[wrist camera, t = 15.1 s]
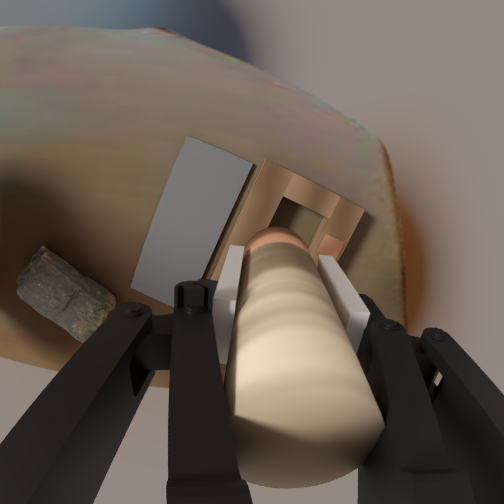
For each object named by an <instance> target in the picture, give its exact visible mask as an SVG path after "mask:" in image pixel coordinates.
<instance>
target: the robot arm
mask: <svg viewBox="0 0 504 504" xmlns="http://www.w3.org/2000/svg"><path fill="white" fill-rule="evenodd" d="M243 255H244V246H237V245H230V247H229V250H228V253H227V256H226V259H225V263H224V266H223V269H222V272H221V275H220V278H219V281H217V280H208V279H199V280H197V281H183V282H180V283H178V284H176V285H175V287H174V313H172V314H168V315H152V310H151V308H150V307H149V306H147V305H145V304H142V303H136V302H131V303H130V302H129V303H126V304H122V305H120V306H119V307H117V308H116V309H115V310H114V311H113V312H112V313H111V314H110V315H109V316H108V318H107V319H106V320H105V321H104V322H103V323H102V324H101V325H100V326H99V327H98V328H97V330H96V331H95V332H94V333H93V334H92V335H91V336H90V337H89V338H88V339H87V341H86V342H85V343H84V344H83V345H82V346H81V347H80V348H79V349H78V351H77V352H76V353H75V354H74V355H73V356H72V357H71V359H70V360H69V361H68V362H67V363H66V364H65V365H64V367H63V368H62V369H61V370H60V371H59V372H58V374H57V375H56V376H55V377H54V378H53V379H52V381H51V382H50V383H49V384H48V385H47V387H46V388H45V389H44V390H43V391H42V392H41V394H40V395H39V396H38V397H37V398H36V400H35V401H34V402H33V403H32V405H31V406H30V407H29V408H28V410H27V411H26V412H25V413H24V414H23V416H22V417H21V418H20V420H19V421H18V422H17V423H16V425H15V426H14V427H13V428H12V430H11V431H10V432H9V434H8V435H7V436H6V437H5V439H4V440H3V441H2V443H1V444H0V504H93V502H94V500H95V498H96V496H97V493H98V491H99V489H100V487H101V485H102V482H103V480H104V478H105V476H106V474H107V471H108V469H109V467H110V465H111V463H112V461H113V458H114V457H115V455H116V452H117V450H118V448H119V446H120V444H121V442H122V439H123V438H124V436H125V434H126V431H127V429H128V427H129V425H130V423H131V421H132V419H133V417H134V415H135V413H136V411H137V409H138V407H139V405H140V403H141V401H142V399H143V397H144V395H145V392H146V390H147V389H148V387H149V384H150V382H151V380H152V378H153V376H154V375H155V370H169V369H170V382H169V413H168V414H169V415H168V416H169V417H168V481H167V486H166V493H167V495H166V497H167V504H253V503H252V499H251V495H250V491H249V488H248V485H247V483H246V481H245V480H243V479H242V478H241V476H240V472H239V467H238V462H237V457H236V452H235V447H234V442H233V437H232V432H231V426H230V421H229V415H228V410H227V404H226V399H225V393H224V387H223V381H222V375H221V369H220V364H227V359H228V353H229V346H230V340H231V333H232V328H233V324H234V318H235V311H236V304H237V298H238V291H239V284H240V278H241V271H242V263H243ZM317 271H318V273H319V275H320V277H321V279H322V281H323V283H324V285H325V288H326V290H327V292H328V294H329V296H330V298H331V300H332V303H333V305H334V307H335V309H336V311H337V313H338V316H339V318H340V320H341V322H342V324H343V327H344V329H345V331H346V333H347V335H348V338H349V340H350V342H351V344H352V347H353V349H354V351H355V353H356V356H357V358H358V360H359V363H360V365H361V367H362V370H363V372H364V374H365V377H366V379H367V381H368V384H369V386H370V389H371V391H372V393H373V396H374V398H375V401H376V403H377V405H378V408H379V410H380V413H381V415H382V418H383V420H384V426H385V428H384V429H383V431H382V433H381V435H380V437H379V438H378V440H377V442H376V444H375V445H374V447H373V449H372V450H371V452H370V454H369V455H368V457H367V459H366V460H365V462H364V463H363V464H362V465H361V466H360V467H358V504H504V395H503V394H502V393H501V391H500V390H499V389H498V388H497V387H496V386H495V384H494V383H493V382H492V381H491V380H490V379H489V377H488V376H487V375H486V374H485V373H484V372H483V371H482V370H481V369H480V367H479V366H478V365H477V364H476V363H475V362H474V361H473V360H472V359H471V357H470V356H469V355H468V354H467V353H466V352H465V351H464V350H463V349H462V348H461V347H460V346H459V345H458V343H457V342H456V341H455V340H454V339H453V338H452V337H451V336H450V335H449V334H448V333H446V332H444V331H443V330H442V329H438V328H426V329H425V330H424V331H423V333H422V336H421V338H419V337H415V336H410V335H407V333H406V331H405V328H404V327H403V326H402V325H401V324H400V323H398V322H396V321H394V320H391V319H387V318H385V317H384V315H383V314H382V312H381V311H380V310H379V308H378V307H377V306H376V304H375V303H374V301H373V300H372V299H371V298H369V297H368V296H367V295H365V294H358V293H357V292H356V290H355V289H354V287H353V286H352V284H351V283H350V281H349V280H348V278H347V277H346V275H345V274H344V272H343V271H342V269H341V268H340V266H339V265H338V264H337V262H336V261H335V259H334V258H333V256H326V255H319V258H318V264H317ZM438 372H440V373H441V374H442V376H443V377H442V379H441V381H440V383H439V385H438V386H436V384H435V383H434V381H435V379H436V377H437V375H438Z"/></svg>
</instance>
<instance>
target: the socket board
mask: <svg viewBox="0 0 504 504" xmlns="http://www.w3.org/2000/svg"><path fill="white" fill-rule="evenodd" d="M283 196H284V197H286V198H288V199H290V200H292V201H294V202H296V203H298V204H301V205H303V206H305V207H307V208H309V209H311V210H313V211H315V212H317V213H319V214H321V215H323V218H322V220H321V222H320V224H319V226H318V228H317V230H316V232H315V234H314V236H313V238H312V240H311V242H310V244H309V246H308V250H309V252H310V254H311V256H312V258H313V260H314V262H315V265H316V268H317V264H318V258H319V255H326V256H333V258H334V259H335V261H336V262H338V260H339V258H340V256H341V255H342V253H343V251H344V249H345V247H346V245H347V243H348V242H349V240H350V238H351V236H352V234H353V232H354V230H355V228H356V226H357V224H358V222H359V221H360V219H361V217H362V215H363V213H364V211H365V209H363V208H361V207H359V206H357V205H355V204H354V203H352V202H350V201H348V200H346V199H344V198H342V197H341V196H339V195H337V194H335V193H333V192H331V191H329V190H327V189H325V188H323V187H321V186H319V185H317V184H315V183H314V182H312V181H310V180H308V179H306V178H304V177H302V176H299V175H297V174H295V173H293V172H291V171H289V170H287V169H285V168H283V167H281V166H279V165H277V164H275V163H272V162H270V161H268V160H266V159H265V161H264V163H263V165H262V167H261V169H260V171H259V174H258V176H257V178H256V180H255V182H254V184H253V186H252V188H251V191H250V193H249V195H248V197H247V199H246V201H245V203H244V206H243V208H242V210H241V212H240V214H239V216H238V219H237V221H236V223H235V225H234V227H233V229H232V232H231V234H230V236H229V238H228V240H227V243H226V245H225V247H224V249H223V251H222V254H221V256H220V258H219V260H218V263H217V265H216V267H215V269H214V272H213V274H212V276H211V278H210V280H217V281H219V278H220V275H221V272H222V269H223V266H224V263H225V259H226V256H227V253H228V250H229V247H230V245H237V246H244V248H245V246H246V244H247V242H248V241H249V239H250V238H251V237H252V236H253V235H254V234H256V233H257V232H259V231H261V230H263V229H266V228H268V226H269V224H270V222H271V220H272V218H273V215H274V213H275V211H276V209H277V207H278V205H279V203H280V201H281V199H282V197H283Z"/></svg>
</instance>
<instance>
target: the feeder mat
mask: <svg viewBox="0 0 504 504" xmlns="http://www.w3.org/2000/svg"><path fill="white" fill-rule="evenodd" d="M252 165H253V163H251V162H248V161H246V160H244V159H242V158H239V157H237V156H235V155H233V154H230V153H228V152H226V151H223V150H221V149H219V148H216V147H214V146H212V145H209V144H207V143H205V142H202V141H200V140H197V139H195V138H192V137H190V136H187V137H186V139H185V141H184V143H183V146H182V148H181V150H180V153H179V155H178V157H177V160H176V162H175V164H174V167H173V169H172V172H171V174H170V177H169V179H168V181H167V184H166V186H165V189H164V192H163V194H162V197H161V199H160V202H159V204H158V207H157V210H156V212H155V215H154V218H153V221H152V223H151V226H150V229H149V232H148V235H147V237H146V240H145V243H144V246H143V249H142V252H141V255H140V258H139V261H138V264H137V267H136V270H135V273H134V277H133V280H132V283H131V286H130V288H132V289H134V290H137V291H139V292H141V293H143V294H145V295H147V296H149V297H152V298H154V299H156V300H158V301H160V302H162V303H165V304H167V305H169V306H171V307H174V287H175V285H176V284H178V283H180V282H183V281H197V280H199V279H201V278H202V276H203V274H204V271H205V269H206V267H207V264H208V262H209V260H210V258H211V255H212V253H213V251H214V248H215V246H216V244H217V242H218V239H219V237H220V235H221V233H222V230H223V228H224V226H225V224H226V222H227V219H228V217H229V215H230V213H231V210H232V208H233V206H234V204H235V202H236V200H237V197H238V195H239V193H240V191H241V189H242V187H243V184H244V182H245V180H246V178H247V176H248V174H249V171H250V169H251V167H252Z"/></svg>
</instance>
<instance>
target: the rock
mask: <svg viewBox="0 0 504 504" xmlns="http://www.w3.org/2000/svg"><path fill="white" fill-rule="evenodd" d="M16 284H17V286H18V287H17V291H16V292H17V294H18V296H19V297H20V298H21V299H22V300H23V301H25V302H26V303H27V304H29V305H30V306H32V307H33V308H34V310H35V311H37V312H38V313H40V314H41V315H42V316H44V317H46V318H48V319H49V320H51V321H53V322H55V323H56V324H58V325H60V326H61V327H63V328H64V329H65V330H66V331H67V332H69V334H70V335H71V336H73V337H74V338H75V339H76V340H78V341H80V342H82V343H83V342H86V341H87V339H88V338H89V337H90V336H91V335H92V334H93V333H94V332H95V331H96V330H97V328H98V327H99V326H100V325H101V324H102V323H103V322H104V321H105V319H107V316H108V314H109V312H111V311H113V310H114V309H115V304H116V297H115V296H114V295H113V294H111V293H110V292H109V291H108V290H107V289H106V288H105V287H104V286H102V285H100V284H99V283H97V282H96V281H94V280H93V279H91V278H89V277H87V276H86V277H85V276H83V275H82V274H80V273H79V272H78V271H77V270H76V269H75V268H74V267H72V266H71V265H70V264H69V263H68V262H66V261H65V260H64V259H62V258H61V257H59V256H58V255H56V254H54V253H53V252H51V251H50V250H48V249H47V248H46V247H45V246H42V247H40V248H39V250H38V251H37V253H36V254H35V255H34V256H32V258H31V260H30V262H29V264H28V265H27V266H26V268H25V269H24V270H23V271H22V272H21V273H20V274H19V276H18V278H17V281H16Z"/></svg>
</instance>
